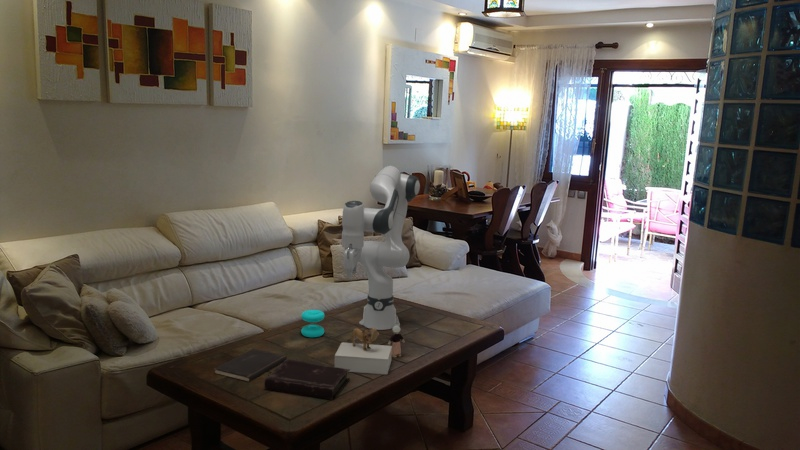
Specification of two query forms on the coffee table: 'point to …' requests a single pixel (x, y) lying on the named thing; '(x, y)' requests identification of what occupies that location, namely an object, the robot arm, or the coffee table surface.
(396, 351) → the grandmother figurine
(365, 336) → the lion figurine
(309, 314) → the donuts
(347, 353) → the pedestal
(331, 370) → the diary
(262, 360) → the hardcover book
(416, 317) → the coffee table surface
